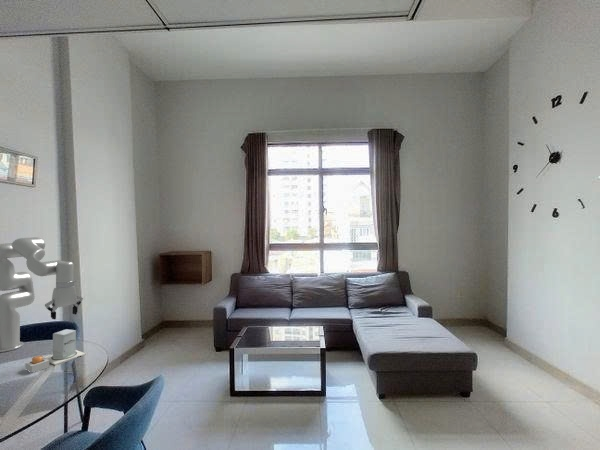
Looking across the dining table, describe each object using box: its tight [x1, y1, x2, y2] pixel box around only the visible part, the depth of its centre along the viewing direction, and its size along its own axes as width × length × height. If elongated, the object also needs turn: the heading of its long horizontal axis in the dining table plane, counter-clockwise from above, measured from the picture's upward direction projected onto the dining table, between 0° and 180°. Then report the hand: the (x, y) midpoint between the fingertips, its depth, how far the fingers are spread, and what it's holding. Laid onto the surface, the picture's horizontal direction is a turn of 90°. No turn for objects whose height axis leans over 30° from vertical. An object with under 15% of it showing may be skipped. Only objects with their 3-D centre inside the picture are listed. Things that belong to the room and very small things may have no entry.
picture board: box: [43, 349, 86, 366], centre depth 165 cm, size 14×14×1 cm
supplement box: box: [52, 328, 77, 358], centre depth 165 cm, size 7×7×13 cm
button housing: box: [24, 358, 50, 373], centre depth 152 cm, size 7×7×4 cm
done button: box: [31, 355, 44, 364], centre depth 152 cm, size 4×4×3 cm
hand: (64, 316), depth 164 cm, fingers open, 9 cm apart
